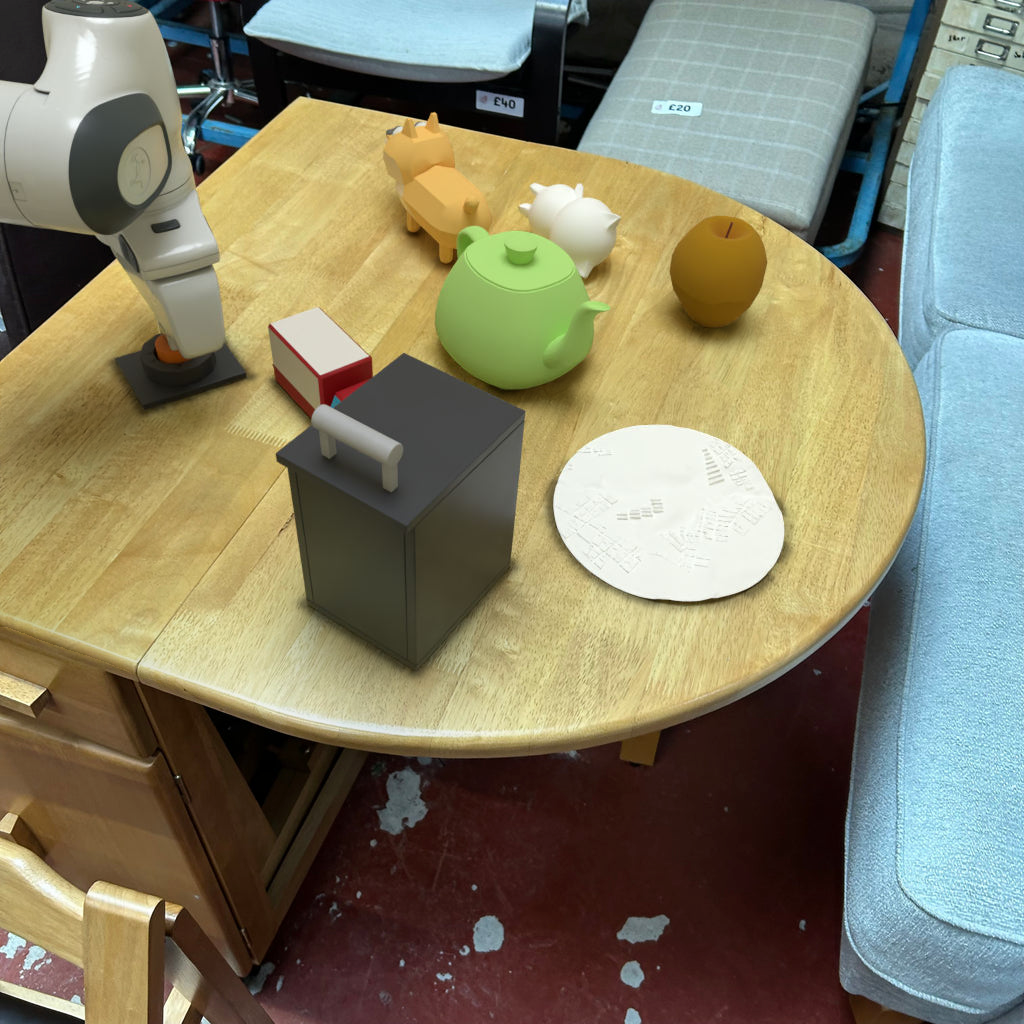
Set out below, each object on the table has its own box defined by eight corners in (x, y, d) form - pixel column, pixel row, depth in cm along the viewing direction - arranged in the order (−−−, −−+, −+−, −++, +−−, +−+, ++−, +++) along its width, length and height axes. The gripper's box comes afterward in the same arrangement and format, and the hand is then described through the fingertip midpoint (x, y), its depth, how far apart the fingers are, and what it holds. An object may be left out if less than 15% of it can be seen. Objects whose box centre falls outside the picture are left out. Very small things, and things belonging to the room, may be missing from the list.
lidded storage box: (416, 672, 70) (414, 527, 59) (306, 604, 74) (284, 455, 62) (510, 566, 78) (525, 419, 66) (406, 510, 81) (403, 361, 70)
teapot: (646, 394, 94) (671, 280, 85) (526, 450, 87) (539, 333, 78) (512, 286, 106) (520, 175, 96) (397, 329, 99) (394, 213, 89)
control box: (144, 410, 88) (138, 389, 86) (115, 363, 92) (109, 342, 90) (247, 377, 92) (243, 356, 90) (215, 333, 96) (211, 313, 94)
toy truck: (356, 470, 84) (352, 412, 79) (274, 380, 92) (266, 322, 87) (408, 446, 87) (407, 389, 82) (324, 361, 94) (319, 304, 90)
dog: (421, 189, 119) (421, 84, 110) (508, 268, 108) (515, 159, 99) (364, 203, 116) (359, 96, 106) (448, 286, 105) (450, 175, 95)
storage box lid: (406, 534, 58) (405, 481, 55) (276, 462, 62) (267, 407, 58) (525, 419, 66) (530, 366, 63) (403, 360, 70) (402, 308, 66)
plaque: (658, 404, 92) (660, 393, 91) (828, 525, 83) (833, 513, 82) (505, 506, 83) (505, 494, 82) (678, 654, 74) (681, 643, 73)
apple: (643, 315, 103) (662, 217, 95) (695, 283, 109) (718, 187, 100) (716, 357, 99) (743, 257, 91) (767, 321, 104) (797, 224, 96)
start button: (166, 372, 89) (162, 357, 88) (153, 352, 91) (149, 336, 90) (203, 361, 90) (200, 346, 89) (189, 341, 92) (186, 326, 91)
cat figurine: (537, 156, 107) (603, 201, 100) (594, 187, 115) (659, 230, 108) (499, 227, 110) (561, 275, 103) (558, 252, 118) (618, 298, 111)
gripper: (67, 160, 84) (105, 294, 94) (147, 275, 73) (181, 413, 83) (139, 145, 86) (168, 277, 96) (226, 254, 75) (250, 390, 85)
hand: (175, 341), depth 89 cm, fingers closed, pressing on start button
